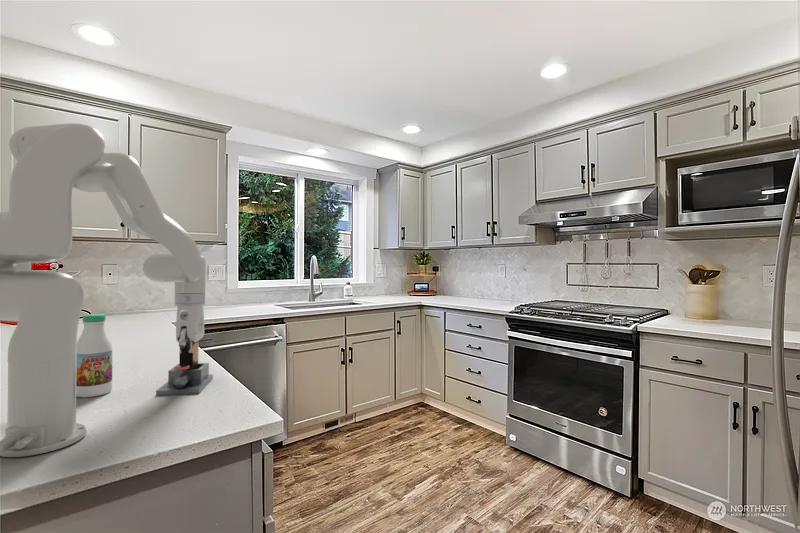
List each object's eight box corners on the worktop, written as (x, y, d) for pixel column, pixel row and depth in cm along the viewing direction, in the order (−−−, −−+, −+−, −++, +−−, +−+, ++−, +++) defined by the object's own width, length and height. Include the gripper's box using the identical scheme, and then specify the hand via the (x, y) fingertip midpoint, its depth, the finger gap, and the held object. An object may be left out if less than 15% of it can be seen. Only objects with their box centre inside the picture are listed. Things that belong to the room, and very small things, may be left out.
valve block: (199, 393, 104) (199, 368, 104) (156, 395, 102) (156, 370, 102) (212, 378, 118) (212, 356, 118) (175, 380, 116) (175, 357, 115)
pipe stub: (195, 371, 110) (195, 342, 110) (177, 372, 109) (178, 342, 109) (199, 367, 115) (200, 339, 115) (183, 368, 114) (183, 339, 114)
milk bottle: (67, 395, 101) (68, 315, 101) (102, 387, 108) (103, 312, 108) (83, 400, 98) (84, 317, 98) (118, 391, 105) (119, 314, 105)
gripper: (195, 302, 104) (194, 373, 104) (212, 297, 121) (211, 358, 121) (163, 302, 103) (162, 374, 103) (184, 297, 119) (184, 359, 119)
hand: (189, 365), depth 112 cm, fingers closed on pipe stub, 4 cm apart
